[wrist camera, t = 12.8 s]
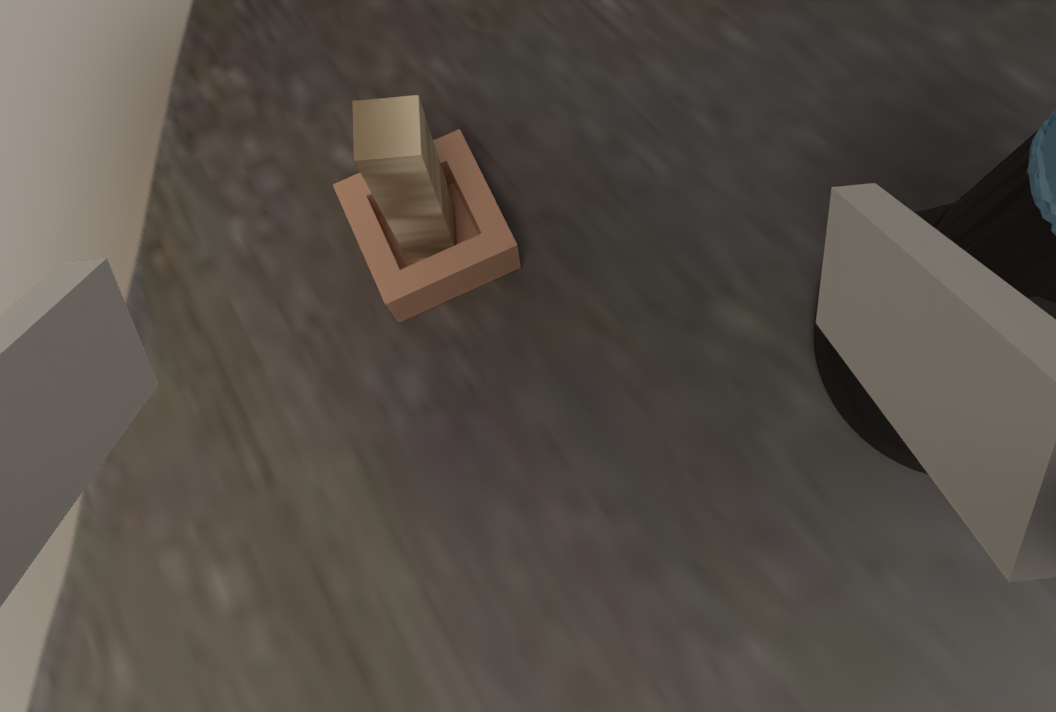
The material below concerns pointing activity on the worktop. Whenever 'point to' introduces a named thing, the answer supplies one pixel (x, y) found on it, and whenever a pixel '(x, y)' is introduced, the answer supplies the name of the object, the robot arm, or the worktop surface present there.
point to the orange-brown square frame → (449, 272)
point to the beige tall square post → (404, 173)
